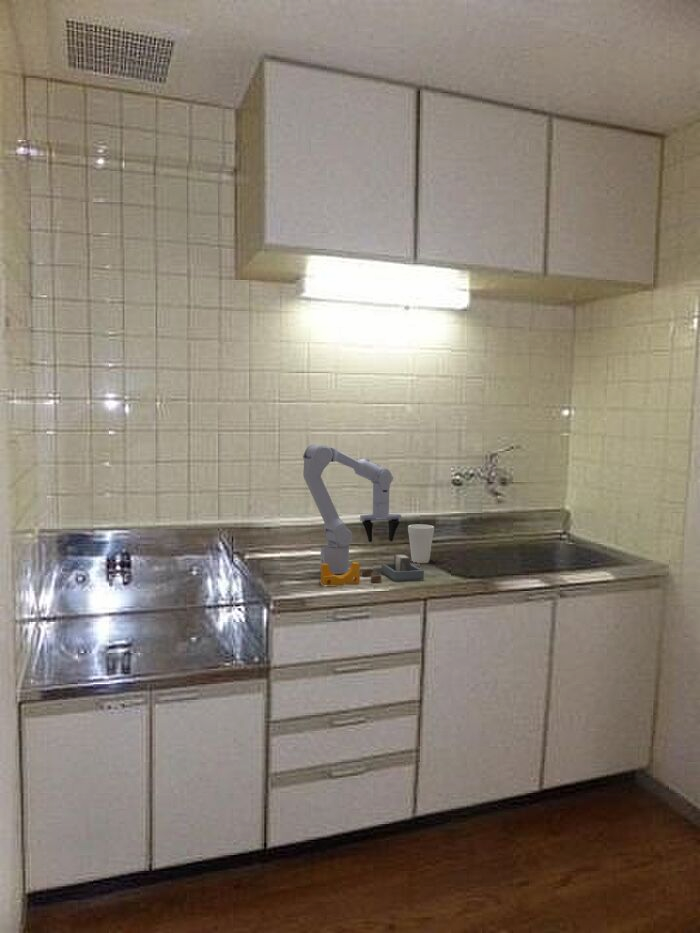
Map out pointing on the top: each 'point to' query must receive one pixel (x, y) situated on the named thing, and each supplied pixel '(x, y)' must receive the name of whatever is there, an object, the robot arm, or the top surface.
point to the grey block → (401, 563)
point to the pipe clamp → (332, 579)
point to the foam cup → (420, 542)
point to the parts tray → (402, 573)
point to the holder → (369, 573)
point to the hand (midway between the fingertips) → (380, 541)
